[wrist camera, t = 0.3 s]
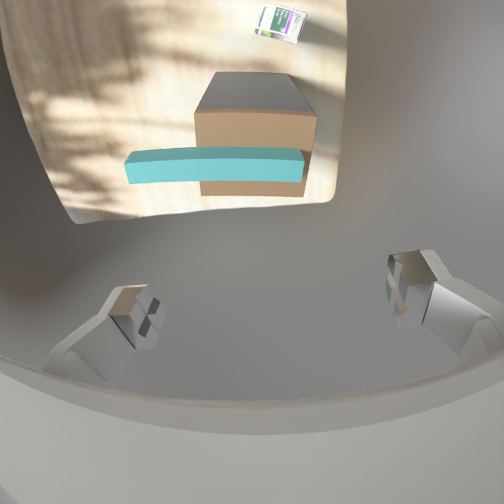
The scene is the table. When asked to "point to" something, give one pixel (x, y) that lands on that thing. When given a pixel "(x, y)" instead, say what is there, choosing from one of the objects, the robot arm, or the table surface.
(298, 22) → the syrup box
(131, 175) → the teal batten
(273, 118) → the pedestal
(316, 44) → the table surface
